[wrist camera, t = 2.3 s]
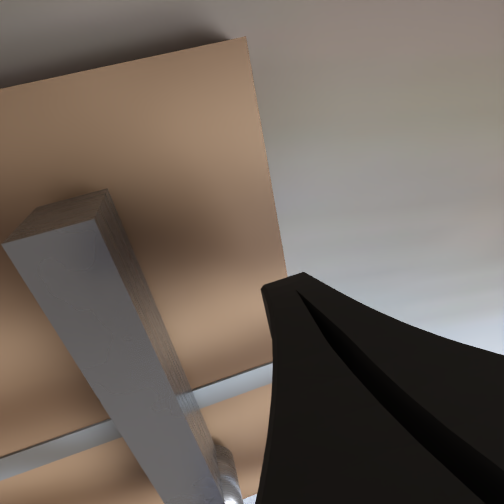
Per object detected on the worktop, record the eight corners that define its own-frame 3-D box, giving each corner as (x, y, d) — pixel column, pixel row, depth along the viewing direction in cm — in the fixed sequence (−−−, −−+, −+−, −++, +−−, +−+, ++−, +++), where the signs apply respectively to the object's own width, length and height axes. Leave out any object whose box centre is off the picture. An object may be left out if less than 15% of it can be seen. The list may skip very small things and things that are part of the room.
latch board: (310, 444, 21) (321, 469, 20) (-104, 606, 18) (-126, 650, 17) (234, 42, 11) (246, 36, 9) (-779, 260, 8) (-985, 299, 6)
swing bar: (239, 472, 17) (254, 540, 15) (178, 496, 17) (183, 570, 14) (128, 183, 10) (118, 217, 7) (14, 212, 10) (-37, 260, 7)
